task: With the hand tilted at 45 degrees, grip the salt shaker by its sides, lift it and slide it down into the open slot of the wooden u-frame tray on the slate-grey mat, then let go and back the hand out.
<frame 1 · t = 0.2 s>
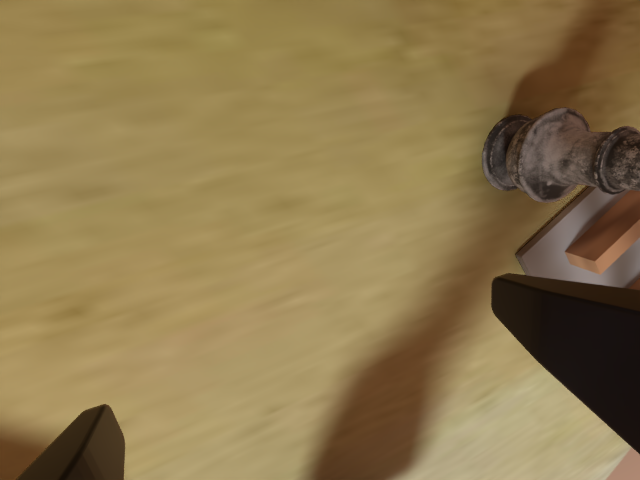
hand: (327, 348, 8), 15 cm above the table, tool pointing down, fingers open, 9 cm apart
wooden u-frame tray: (604, 264, 33), on the table
salt shaker: (510, 153, 27), on the table
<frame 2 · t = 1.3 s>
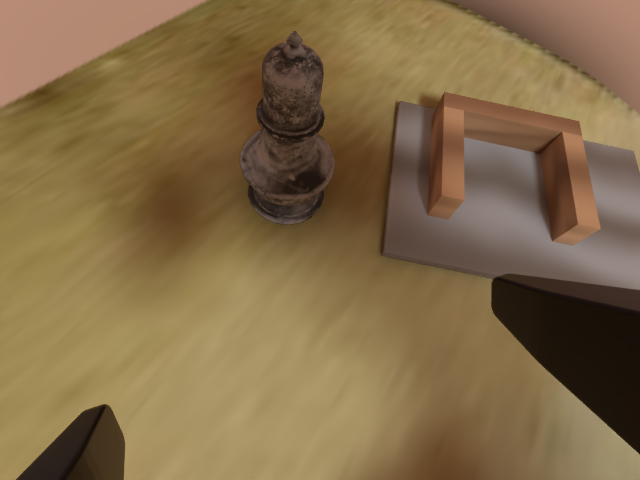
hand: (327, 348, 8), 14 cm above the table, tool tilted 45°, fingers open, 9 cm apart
wooden u-frame tray: (493, 194, 28), on the table
salt shaker: (286, 193, 26), on the table
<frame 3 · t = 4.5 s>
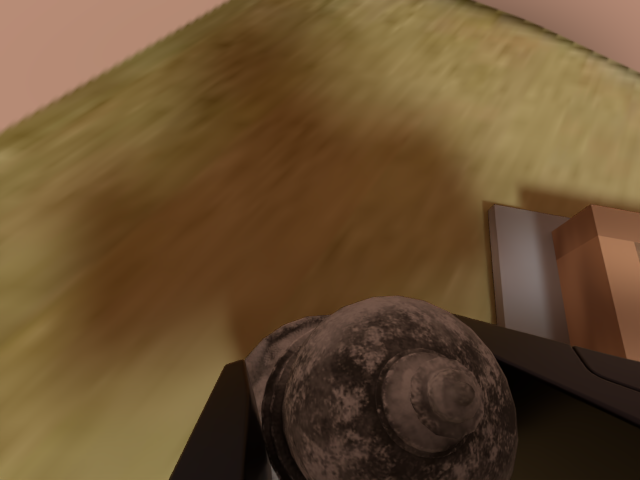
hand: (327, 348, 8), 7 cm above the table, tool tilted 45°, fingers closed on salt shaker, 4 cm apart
salt shaker: (316, 419, 14), on the table, touching gripper
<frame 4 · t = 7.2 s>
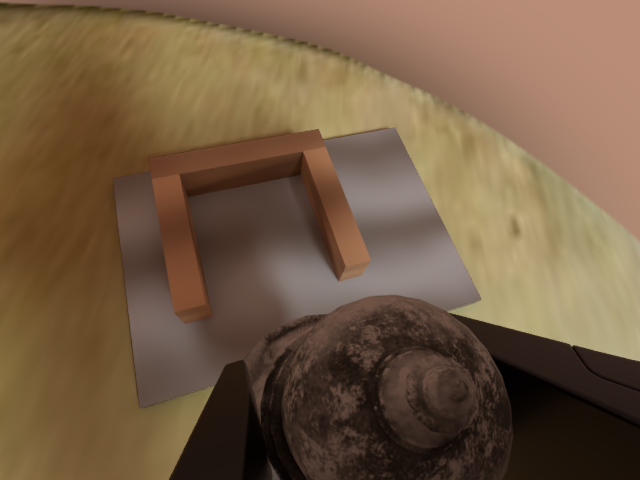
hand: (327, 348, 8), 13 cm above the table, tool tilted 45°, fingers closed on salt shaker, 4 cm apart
wooden u-frame tray: (263, 249, 23), on the table
salt shaker: (315, 417, 14), point 6 cm above the table, touching gripper
when the fingers open (8 cm above the table, at t = 9.7 s): salt shaker drops 1 cm, resting on wooden u-frame tray.
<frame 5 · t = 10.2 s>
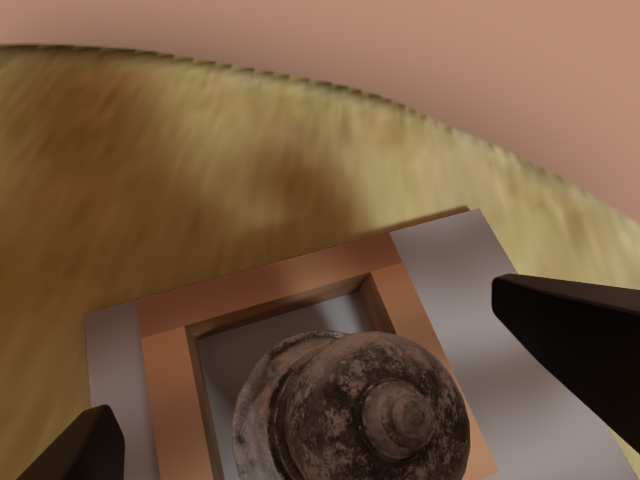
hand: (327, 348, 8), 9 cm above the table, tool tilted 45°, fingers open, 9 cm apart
wooden u-frame tray: (312, 419, 16), on the table
salt shaker: (314, 423, 15), resting on wooden u-frame tray
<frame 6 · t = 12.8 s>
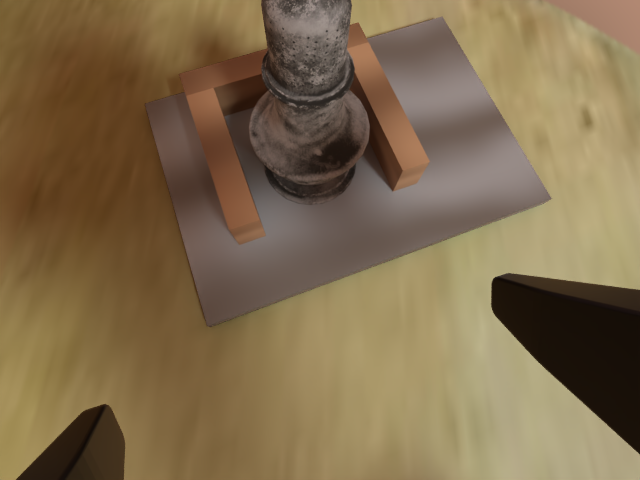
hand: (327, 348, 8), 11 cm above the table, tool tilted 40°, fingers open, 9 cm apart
wooden u-frame tray: (309, 165, 22), on the table
salt shaker: (310, 164, 22), resting on wooden u-frame tray
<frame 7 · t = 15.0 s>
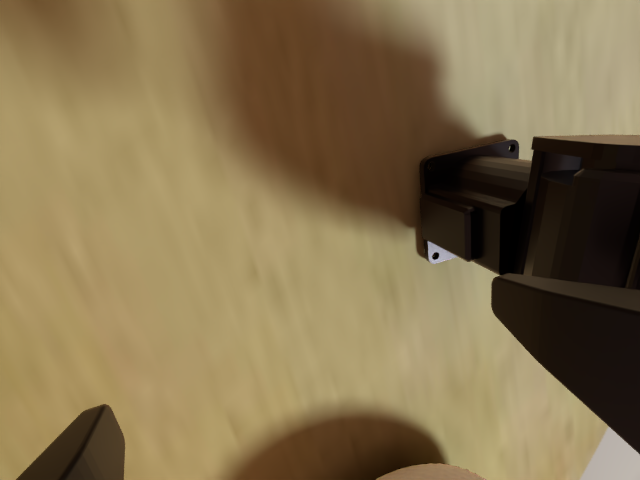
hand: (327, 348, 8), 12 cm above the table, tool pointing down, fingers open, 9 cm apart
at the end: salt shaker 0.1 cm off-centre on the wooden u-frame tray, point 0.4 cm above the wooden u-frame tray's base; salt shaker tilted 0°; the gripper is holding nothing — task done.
